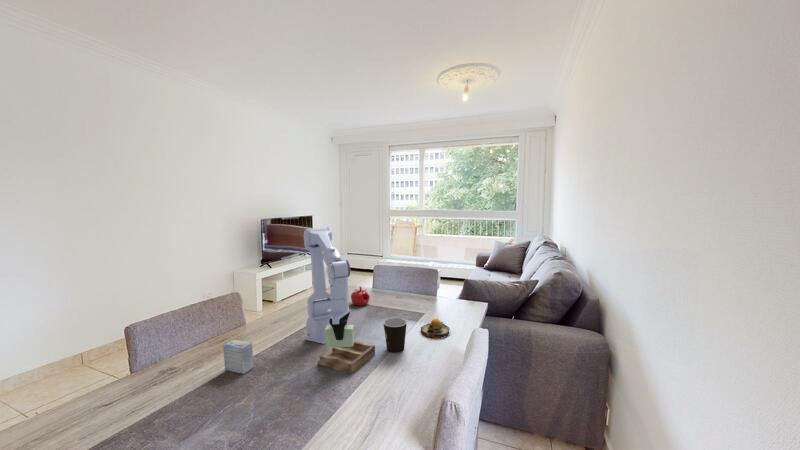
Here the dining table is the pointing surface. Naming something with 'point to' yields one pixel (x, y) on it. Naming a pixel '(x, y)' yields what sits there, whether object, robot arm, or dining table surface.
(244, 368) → the medicine box
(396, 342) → the coffee mug
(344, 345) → the pale green block
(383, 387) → the dining table surface
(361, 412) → the dining table surface
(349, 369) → the wooden compartment tray
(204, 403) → the dining table surface
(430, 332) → the burger
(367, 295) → the pomegranate
